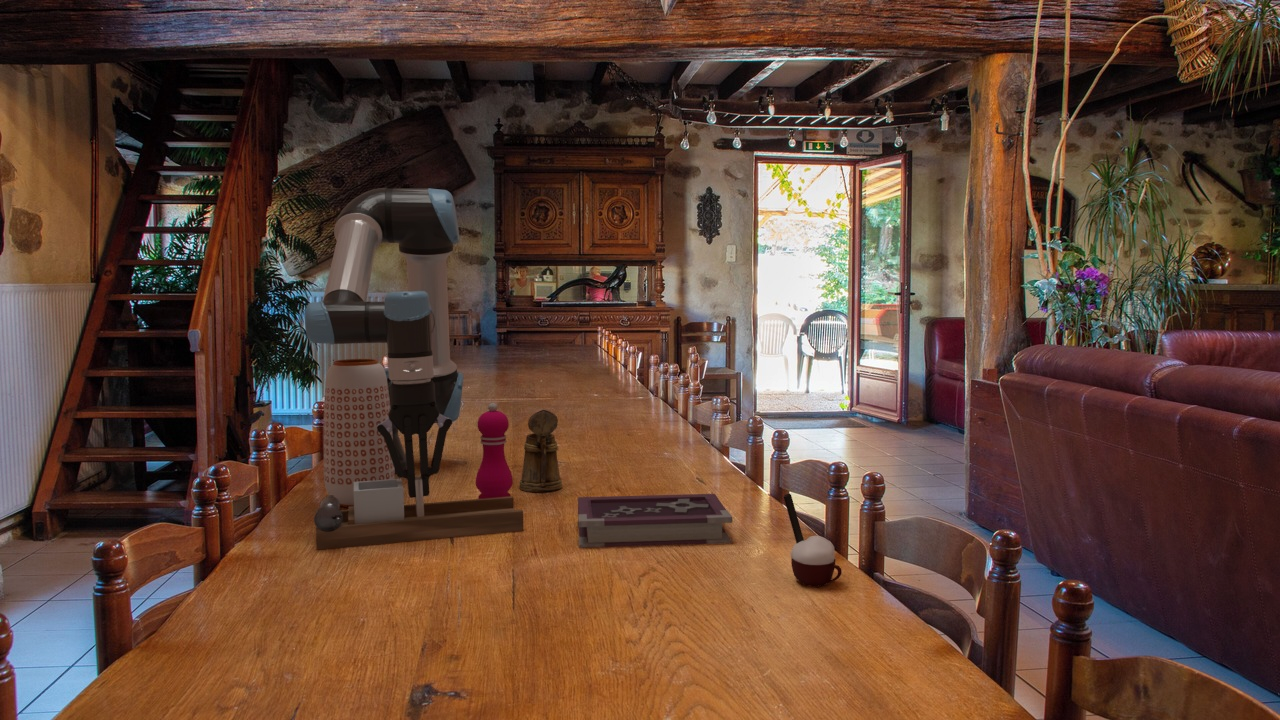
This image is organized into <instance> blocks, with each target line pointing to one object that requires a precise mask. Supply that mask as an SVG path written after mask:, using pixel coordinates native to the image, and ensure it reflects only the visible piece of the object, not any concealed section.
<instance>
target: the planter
mask: <svg viewBox="0 0 1280 720" xmlns="http://www.w3.org/2000/svg"><path fill="white" fill-rule="evenodd" d="M384 368H385V367H384V366H383V365H382V364H381V363H380V362H379V361H378V360H377V359H373V358H347V359H337V360H333V362H332V364H331V365H330V366H329V368H328V370H327V371H326V375H325V382H324V397H323V482H324V483H323V484H324V487H325V490H326V492H327V495H334V497H335V498H337V499H338V500H339V503H340V507H342V508H343V507H344V508H349V507H351V506H354V482H359V481H373V480H387V479H396V478H395V476H396V473H395V468H394V465H393V462H392V459H391V456H390V453H389V450H388V448H387V445H386V442H385V439H384V437H383V436H382V435H381V434H380V433H379V431H378V430H377V424H378V423H382V422H383V421H384V420H386V419H387V418H388V414H389V412H390V399H389V391H388V384H387V377H386V373H385V370H384ZM391 428H392V423H391ZM390 434H391V436H392V439H393V434H392V431H391V432H390Z"/></svg>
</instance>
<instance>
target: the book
mask: <svg viewBox="0 0 1280 720" xmlns="http://www.w3.org/2000/svg"><path fill="white" fill-rule="evenodd" d="M577 520H578V521H577V524H578V548H580V549H582V548H583V549H584V548H585V549H587V548H605V547H606V548H609V547H610V548H612V547H613V548H614V547H615V548H616V547H641V546H643V547H644V546H674V545H676V546H679V545H710V544H711V545H713V544H714V545H716V544H717V545H718V544H732V539H731V537H730V535H729V534H728V533H727V531H726V530H725V528H724V527H723V524H730V523H731V524H733V516H732V514H731V513H730V512H729V511H728V509H726V508H725V506H724V504H723V503H722V502H721V501H720V498H719V497H718V496H717V495H716V494H715V493H696V494H695V493H692V494H689V493H688V494H684V493H683V494H655V495H647V494H645V495H616V496H614V495H611V496H581V497H580V496H578V497H577Z"/></svg>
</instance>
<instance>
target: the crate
mask: <svg viewBox="0 0 1280 720" xmlns="http://www.w3.org/2000/svg"><path fill="white" fill-rule="evenodd" d="M404 493H405V492H404V484H403V481H402V478H394V479H387V480H373V481H359V482H354V517H355V524H360V523H372V522H384V521H395V520H404V505H405V500H404V499H405V496H404V495H405V494H404Z"/></svg>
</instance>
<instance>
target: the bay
mask: <svg viewBox="0 0 1280 720" xmlns="http://www.w3.org/2000/svg"><path fill="white" fill-rule="evenodd" d="M340 510H341V512H342V514H343V521H342V524H341V525H340V527H339V528H338V529H336V530H335V531H334V530H333V529H334V527H333V528H332V530H333V531H332V532H324V531H325V530H326V529H327V530H328V529H329V528H323V529H325V530H324V531H321V530H320V529H318V528H317V527H316V526H315V527H316V528H315V537H316V538H315V540H316V551H317V550H319V551H320V550H329V549H330V550H333V549H342V548H352V547H363V546H373V545H382V544H383V545H384V544H396V543H405V542H417V541H425V540H428V541H429V540H437V539H439V540H440V539H448V538H450V539H451V538H459V537H470V536H481V535H490V534H499V533H501V534H502V533H512V532H521V531H524V510H523V509H515V508H514V496H513V495H512V496H509V497H497V498H485V499H478V498H476V499H475V498H474V499H473V498H472V499H463V500H461V499H460V500H450V501H438V502H437V501H436V502H425V503H424V516H423V517H417V514H416V503H412V504H411V503H410V504H404V520H395V521H384V522H372V523H360V524H355V517H354V506H351V507H348V509H340ZM335 528H337V527H335ZM330 529H331V528H330ZM328 531H329V530H328ZM330 531H331V530H330Z"/></svg>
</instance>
